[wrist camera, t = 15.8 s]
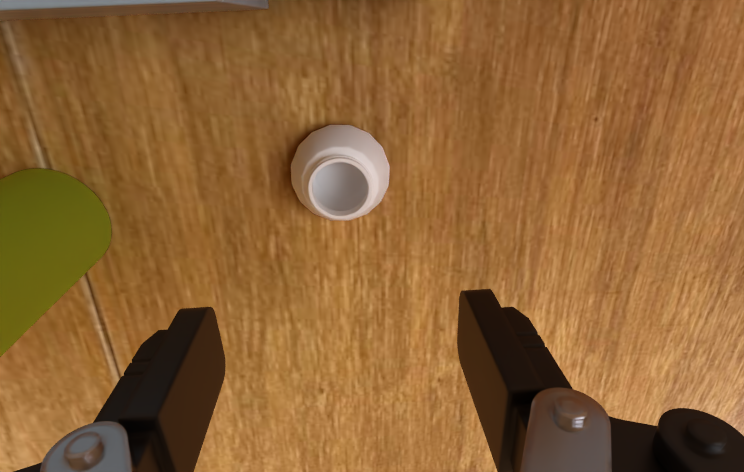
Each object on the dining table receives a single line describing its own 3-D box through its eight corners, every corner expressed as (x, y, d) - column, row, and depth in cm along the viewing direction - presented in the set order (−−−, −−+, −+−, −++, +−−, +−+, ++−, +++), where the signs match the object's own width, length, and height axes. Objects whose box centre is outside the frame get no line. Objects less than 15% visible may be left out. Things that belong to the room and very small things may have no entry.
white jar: (279, 194, 24) (364, 227, 26) (271, 216, 22) (367, 251, 23) (313, 107, 23) (403, 146, 24) (309, 118, 20) (411, 162, 21)
